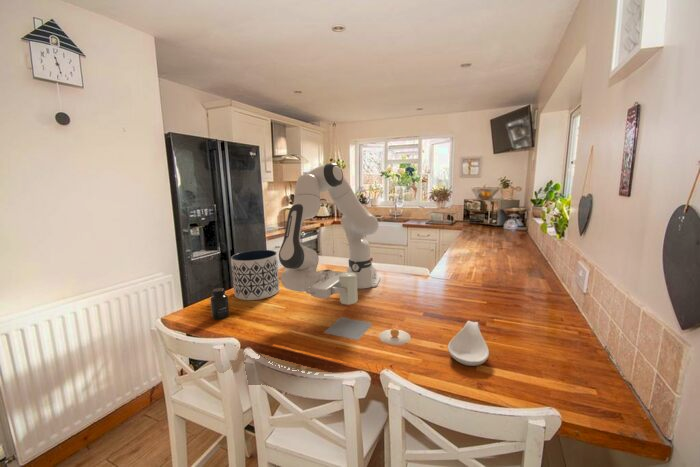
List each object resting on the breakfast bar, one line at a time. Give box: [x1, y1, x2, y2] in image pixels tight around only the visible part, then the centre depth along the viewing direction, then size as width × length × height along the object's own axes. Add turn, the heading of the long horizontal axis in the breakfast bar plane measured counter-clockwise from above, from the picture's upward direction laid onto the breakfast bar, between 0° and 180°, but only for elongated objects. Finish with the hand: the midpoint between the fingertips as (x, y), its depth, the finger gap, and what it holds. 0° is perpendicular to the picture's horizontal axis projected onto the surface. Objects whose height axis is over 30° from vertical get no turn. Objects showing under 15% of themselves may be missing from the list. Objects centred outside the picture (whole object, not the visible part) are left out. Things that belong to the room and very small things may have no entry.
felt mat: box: [323, 316, 373, 341], centre depth 115 cm, size 14×14×1 cm
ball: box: [390, 327, 399, 337], centre depth 107 cm, size 3×3×3 cm
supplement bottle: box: [209, 287, 230, 320], centre depth 129 cm, size 7×7×12 cm
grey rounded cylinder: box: [338, 272, 359, 306], centre depth 113 cm, size 6×6×10 cm
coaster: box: [378, 328, 412, 346], centre depth 108 cm, size 11×11×1 cm
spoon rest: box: [447, 320, 490, 367], centre depth 98 cm, size 24×12×7 cm, turn 154°
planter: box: [230, 249, 280, 301], centre depth 156 cm, size 22×22×20 cm
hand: (350, 287), depth 112 cm, fingers closed on grey rounded cylinder, 6 cm apart
